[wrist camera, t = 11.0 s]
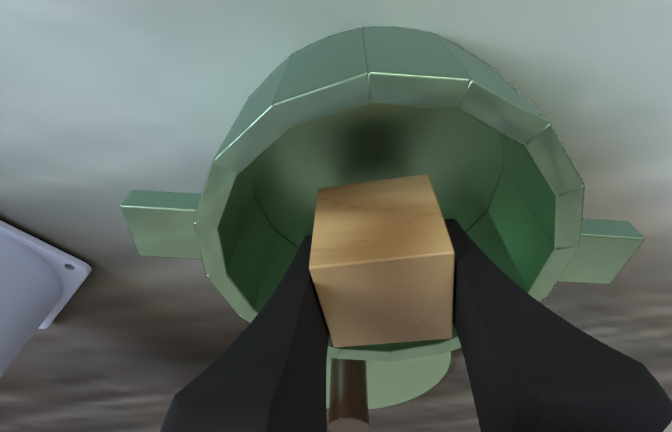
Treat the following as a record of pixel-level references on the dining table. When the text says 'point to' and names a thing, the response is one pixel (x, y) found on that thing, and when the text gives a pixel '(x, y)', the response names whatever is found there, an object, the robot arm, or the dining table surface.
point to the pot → (383, 173)
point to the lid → (376, 386)
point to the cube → (383, 262)
